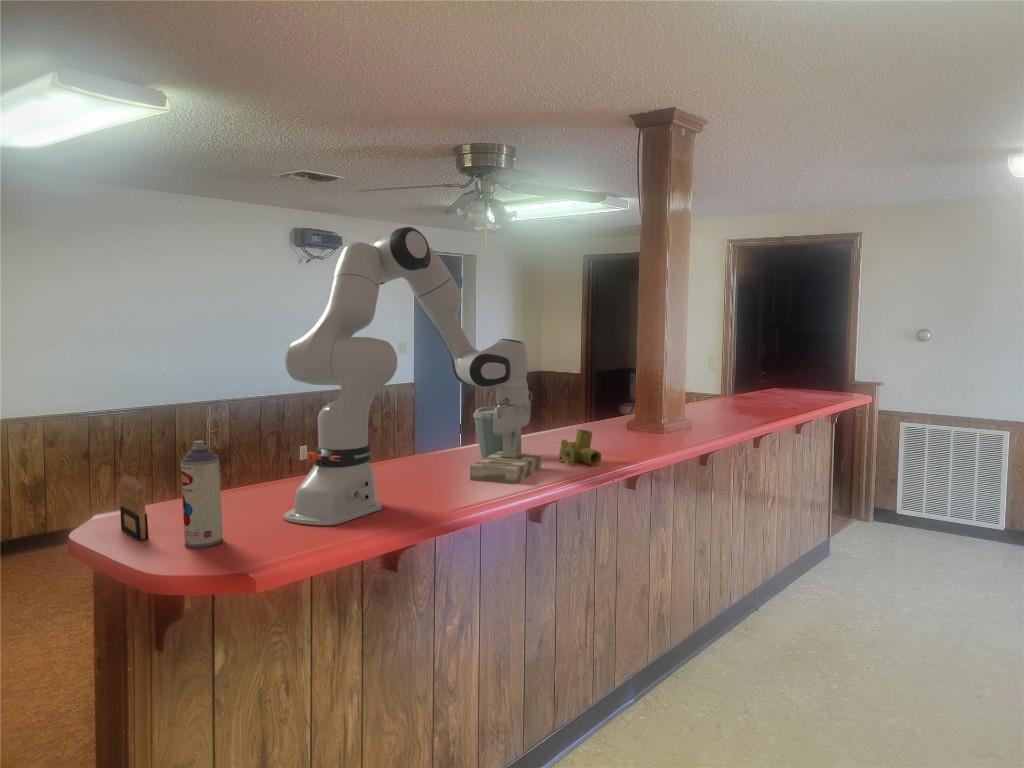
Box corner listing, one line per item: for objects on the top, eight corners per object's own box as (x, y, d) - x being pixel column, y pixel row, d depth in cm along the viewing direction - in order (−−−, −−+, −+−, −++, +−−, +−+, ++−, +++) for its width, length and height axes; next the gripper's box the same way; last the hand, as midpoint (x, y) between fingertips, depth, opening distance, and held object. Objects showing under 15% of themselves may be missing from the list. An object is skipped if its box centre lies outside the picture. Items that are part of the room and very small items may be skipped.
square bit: (516, 460, 203) (516, 424, 201) (502, 459, 204) (502, 424, 203) (521, 457, 206) (521, 422, 205) (507, 456, 208) (507, 422, 207)
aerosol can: (181, 541, 143) (176, 440, 141) (217, 535, 147) (213, 437, 145) (189, 550, 138) (184, 446, 135) (226, 543, 142) (222, 442, 139)
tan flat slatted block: (516, 483, 189) (516, 468, 189) (470, 479, 194) (470, 465, 194) (541, 468, 208) (541, 454, 208) (498, 464, 213) (498, 451, 212)
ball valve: (575, 460, 223) (548, 459, 218) (581, 427, 222) (554, 425, 217) (601, 470, 212) (573, 470, 207) (607, 436, 211) (579, 434, 206)
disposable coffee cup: (508, 460, 219) (508, 410, 217) (472, 460, 219) (472, 411, 217) (508, 453, 229) (508, 406, 228) (474, 453, 229) (473, 406, 228)
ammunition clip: (148, 539, 145) (145, 479, 143) (138, 541, 143) (135, 481, 142) (130, 527, 152) (127, 471, 151) (121, 529, 151) (117, 472, 150)
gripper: (509, 402, 192) (509, 453, 194) (534, 393, 211) (534, 440, 213) (487, 401, 195) (487, 452, 196) (513, 392, 214) (514, 439, 215)
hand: (512, 445), depth 205 cm, fingers closed on square bit, 4 cm apart
